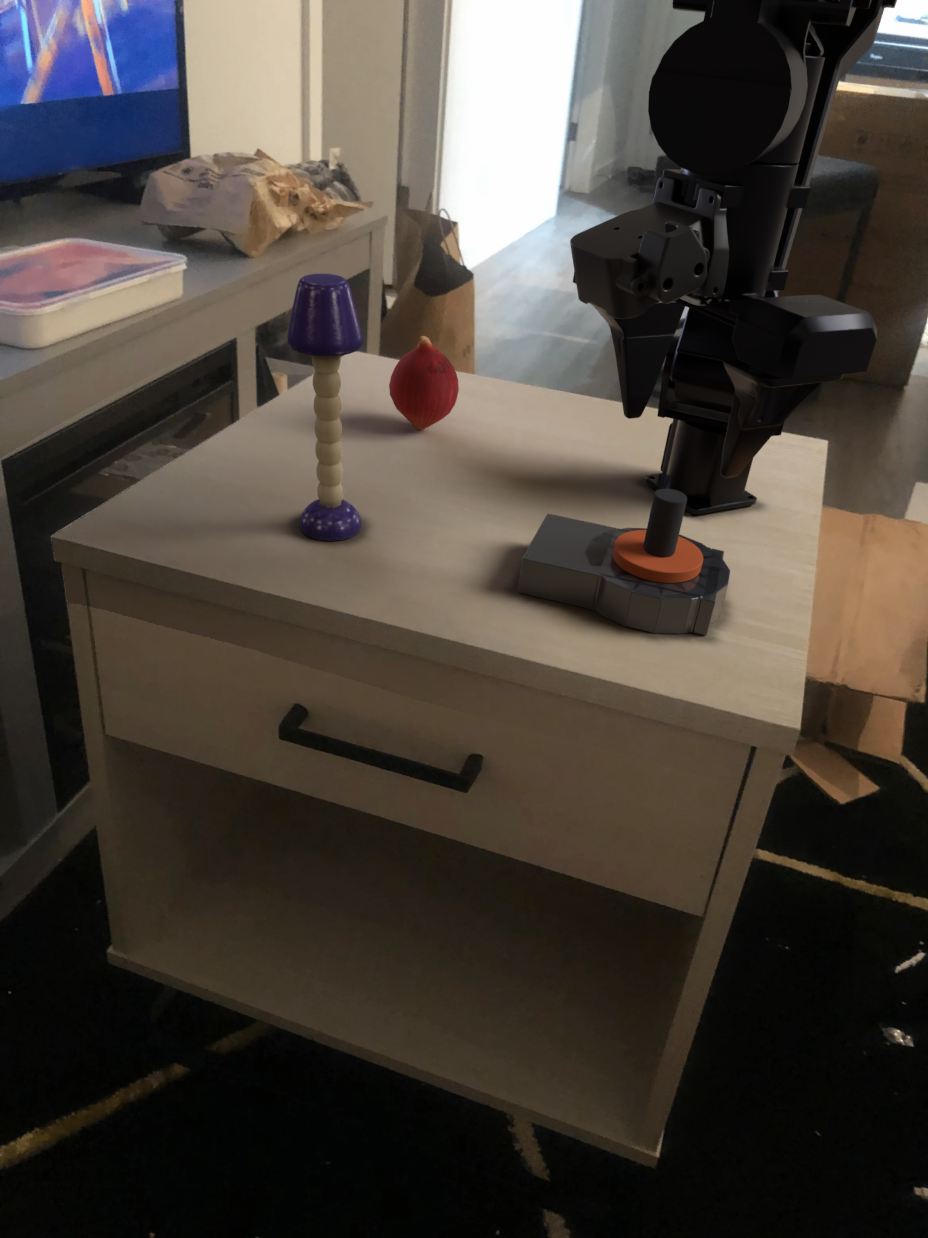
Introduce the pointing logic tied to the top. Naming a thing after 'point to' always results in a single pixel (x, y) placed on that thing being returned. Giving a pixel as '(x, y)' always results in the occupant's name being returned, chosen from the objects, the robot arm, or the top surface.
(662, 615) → the plate
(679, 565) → the stopper
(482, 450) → the top surface
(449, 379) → the onion
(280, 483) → the top surface
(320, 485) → the toy lamp
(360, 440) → the top surface
